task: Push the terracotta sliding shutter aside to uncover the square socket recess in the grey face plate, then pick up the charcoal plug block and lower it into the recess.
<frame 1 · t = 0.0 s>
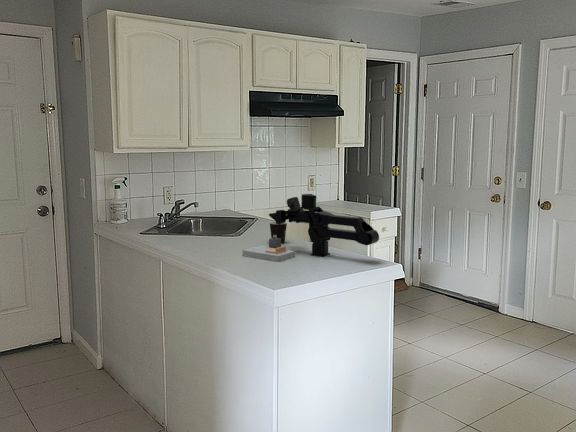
hand: (275, 213, 261), 17 cm above the countertop, tool horizontal, fingers open, 9 cm apart
shutter: (275, 249, 243), point 4 cm above the countertop, slide at 0.0 cm
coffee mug: (276, 243, 275), on the countertop
plug: (275, 251, 256), on the countertop
socket plate: (275, 257, 243), on the countertop
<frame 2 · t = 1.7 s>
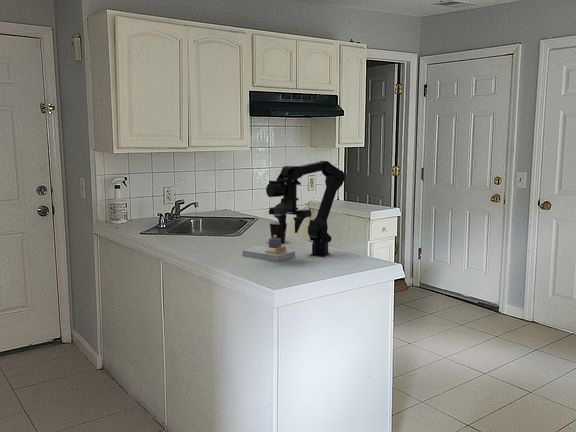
hand: (289, 232, 237), 12 cm above the countertop, tool pointing down, fingers open, 6 cm apart
nothing on the countertop moved.
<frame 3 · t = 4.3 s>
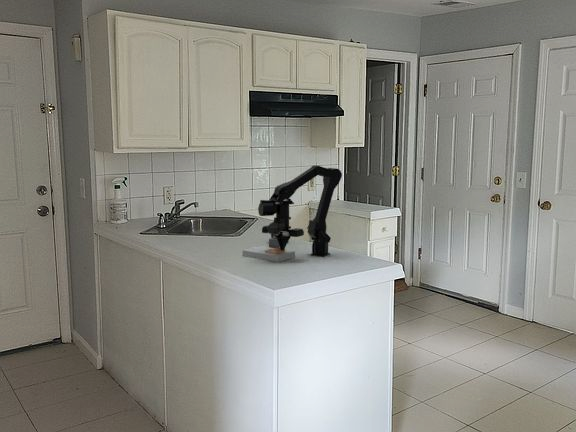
hand: (282, 250, 241), 4 cm above the countertop, tool pointing down, fingers closed
shutter: (275, 249, 243), point 4 cm above the countertop, slide at 0.4 cm, touching gripper
everything else where it was.
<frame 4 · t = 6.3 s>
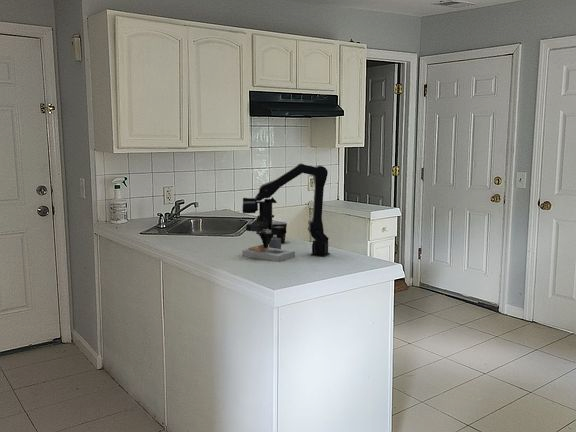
hand: (265, 248, 246), 4 cm above the countertop, tool pointing down, fingers closed
shutter: (258, 246, 248), point 4 cm above the countertop, slide at 9.6 cm, touching gripper
everything else where it was.
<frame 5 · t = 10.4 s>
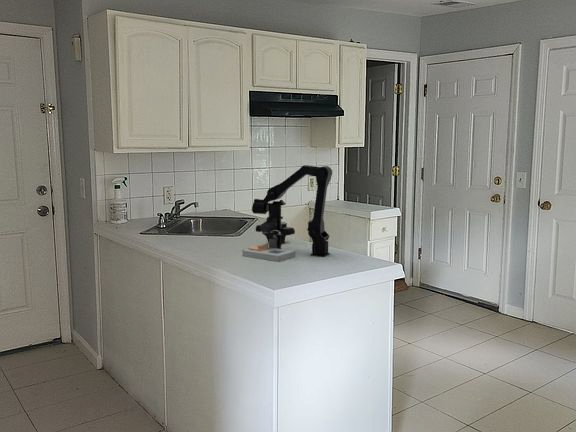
hand: (275, 248, 256), 2 cm above the countertop, tool pointing down, fingers closed on plug, 4 cm apart
shutter: (258, 246, 248), point 4 cm above the countertop, slide at 9.6 cm
plug: (275, 251, 256), on the countertop, touching gripper
everything else where it was.
when the fingers open (3 cm above the countertop, at t = 15.2 s): plug drops 1 cm, resting on socket plate.
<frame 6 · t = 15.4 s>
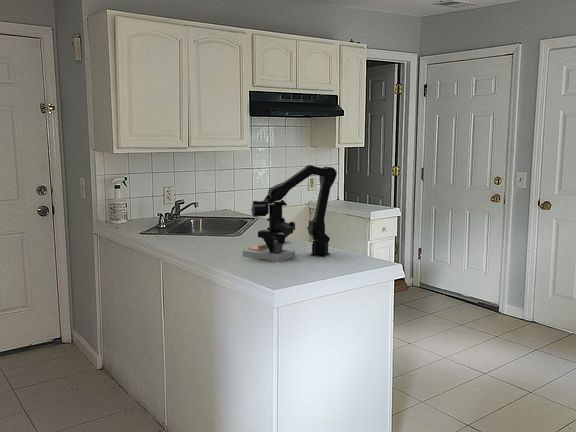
hand: (275, 251, 243), 3 cm above the countertop, tool pointing down, fingers open, 6 cm apart
plug: (275, 257, 243), resting on socket plate
everything else where it was.
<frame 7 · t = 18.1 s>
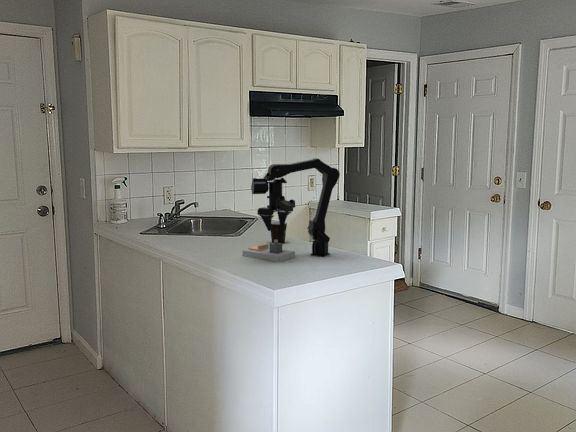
hand: (275, 229, 242), 12 cm above the countertop, tool pointing down, fingers open, 9 cm apart
nothing on the countertop moved.
at the end: plug 0.0 cm off-centre on the socket plate, point 0.2 cm above the socket plate's base; shutter slide at 9.6 cm; plug tilted 0° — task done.
